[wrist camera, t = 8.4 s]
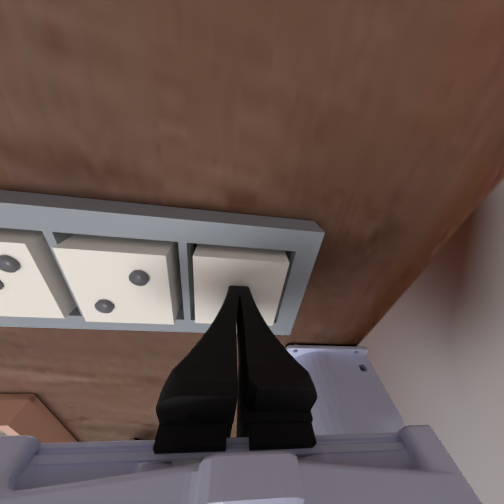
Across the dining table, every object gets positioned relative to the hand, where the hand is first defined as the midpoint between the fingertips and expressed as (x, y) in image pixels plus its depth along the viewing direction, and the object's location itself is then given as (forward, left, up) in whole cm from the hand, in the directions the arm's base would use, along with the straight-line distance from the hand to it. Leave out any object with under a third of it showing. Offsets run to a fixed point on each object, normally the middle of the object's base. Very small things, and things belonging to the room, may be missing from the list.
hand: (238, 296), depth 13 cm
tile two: (+7, 0, -3) cm, 8 cm away
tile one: (0, 0, -4) cm, 4 cm away
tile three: (+15, 0, -4) cm, 15 cm away
